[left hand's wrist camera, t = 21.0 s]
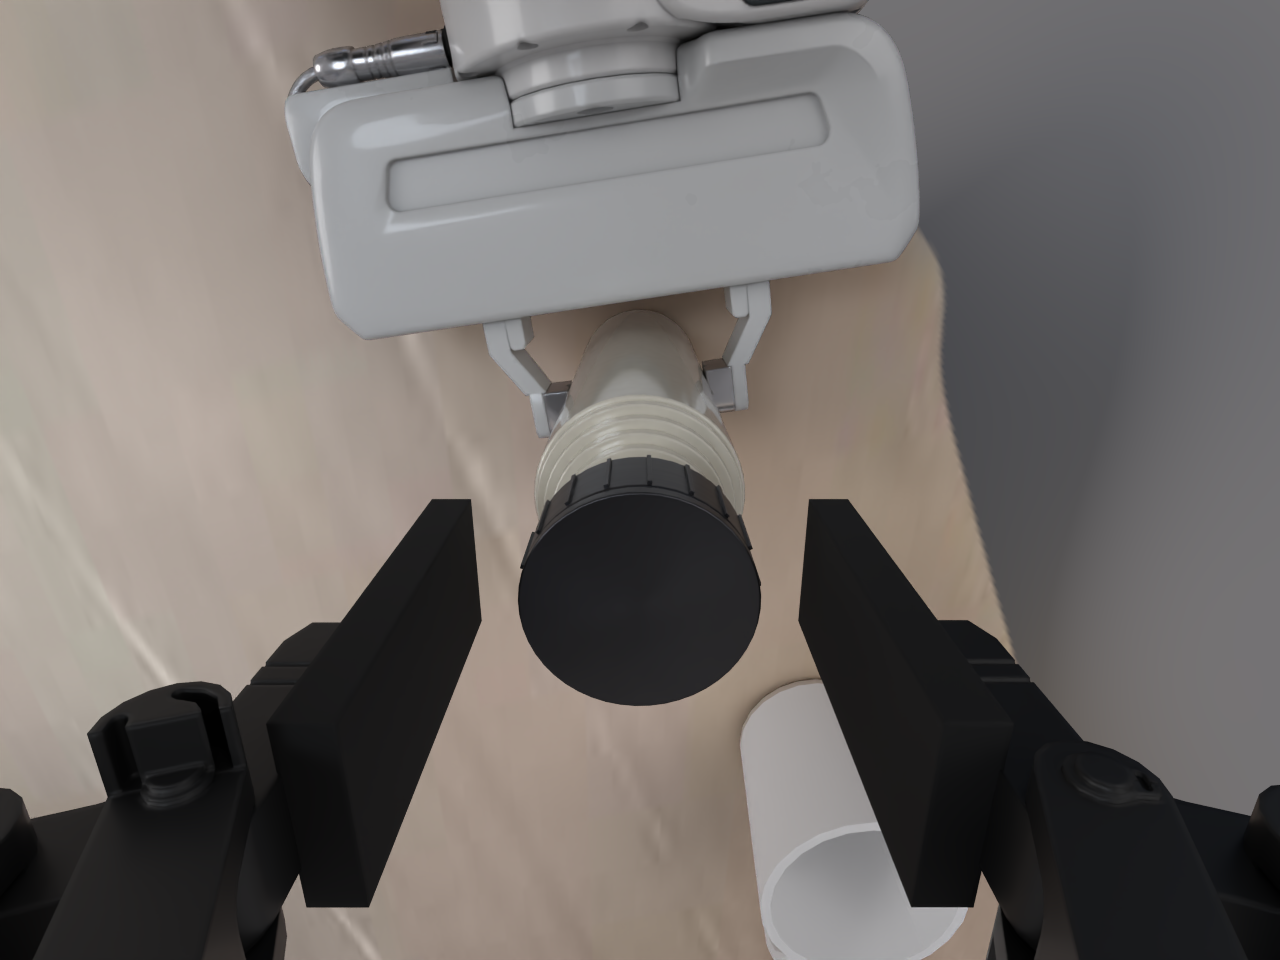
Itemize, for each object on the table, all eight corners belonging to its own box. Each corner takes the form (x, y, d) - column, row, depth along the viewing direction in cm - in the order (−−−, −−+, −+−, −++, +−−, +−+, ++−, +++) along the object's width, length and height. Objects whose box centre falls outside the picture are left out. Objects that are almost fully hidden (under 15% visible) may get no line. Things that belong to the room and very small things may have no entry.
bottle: (599, 431, 34) (543, 726, 14) (570, 324, 32) (462, 491, 13) (705, 407, 34) (799, 675, 14) (682, 297, 32) (752, 426, 12)
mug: (786, 644, 38) (837, 790, 28) (922, 711, 39) (1015, 872, 30) (683, 787, 41) (696, 962, 31) (812, 844, 43) (862, 1027, 33)
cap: (515, 464, 14) (496, 502, 12) (743, 443, 14) (760, 480, 12) (546, 656, 15) (533, 717, 13) (752, 639, 15) (768, 698, 13)
